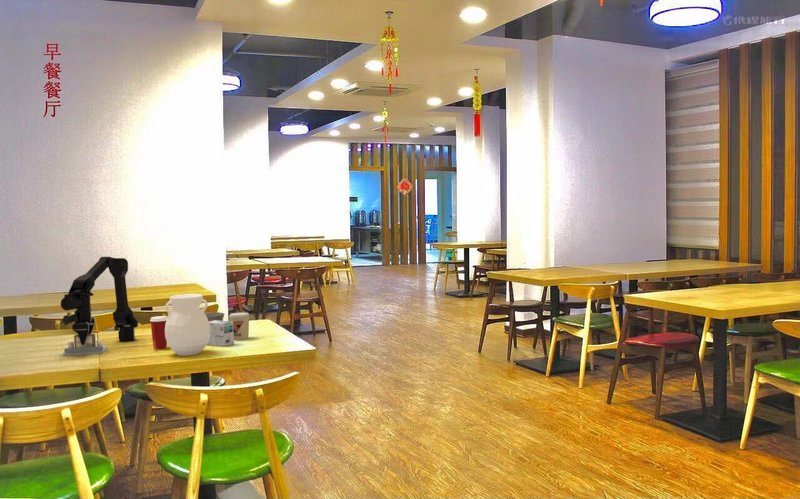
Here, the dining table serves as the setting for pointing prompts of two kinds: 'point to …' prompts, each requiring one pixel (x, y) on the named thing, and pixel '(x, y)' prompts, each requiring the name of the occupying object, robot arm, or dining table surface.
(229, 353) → the dining table surface
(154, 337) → the paper cup
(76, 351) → the wall panel
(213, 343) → the light bulb box
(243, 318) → the coffee cup
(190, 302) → the white vase
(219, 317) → the bowl
